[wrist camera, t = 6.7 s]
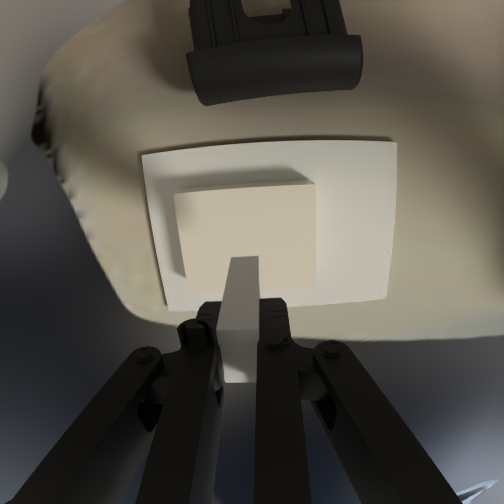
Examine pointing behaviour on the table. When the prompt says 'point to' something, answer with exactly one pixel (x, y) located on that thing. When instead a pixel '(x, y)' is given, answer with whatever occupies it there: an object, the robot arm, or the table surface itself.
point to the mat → (327, 211)
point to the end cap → (270, 51)
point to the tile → (248, 232)
